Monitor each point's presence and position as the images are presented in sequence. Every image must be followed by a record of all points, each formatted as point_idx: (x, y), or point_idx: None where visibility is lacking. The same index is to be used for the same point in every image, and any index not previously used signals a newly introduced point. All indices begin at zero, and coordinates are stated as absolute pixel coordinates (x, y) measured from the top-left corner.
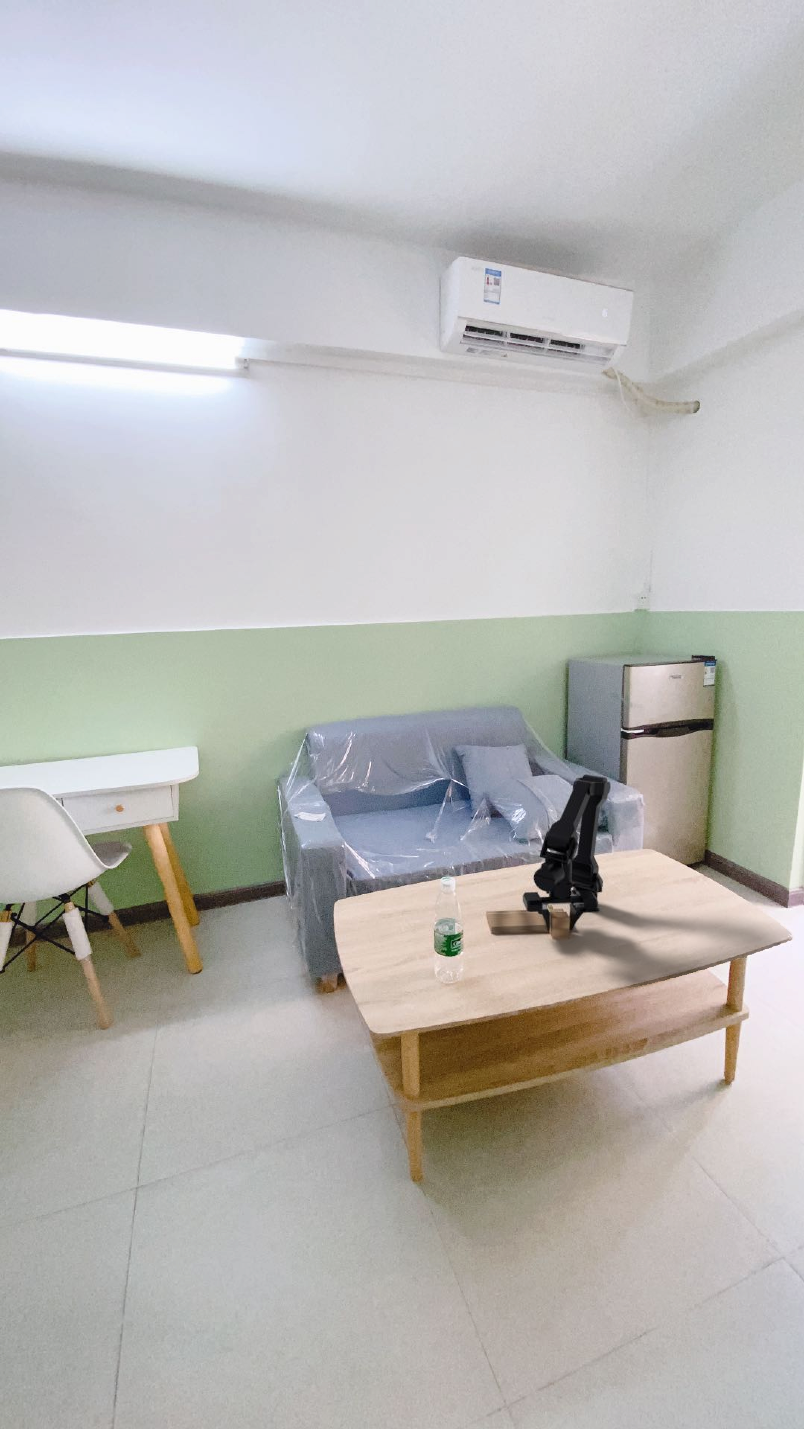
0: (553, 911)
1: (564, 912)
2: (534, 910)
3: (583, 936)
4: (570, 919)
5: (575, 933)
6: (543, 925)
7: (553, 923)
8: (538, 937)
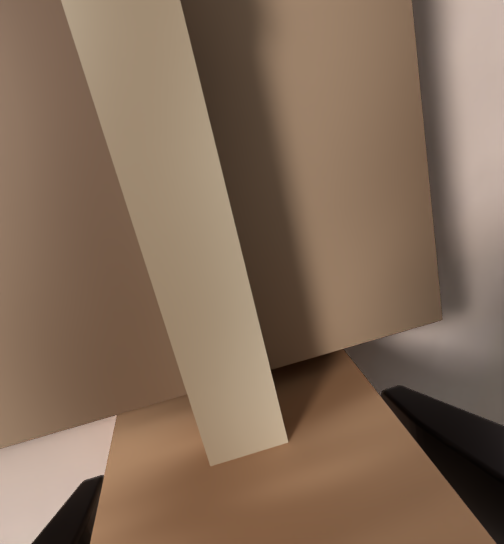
0: (177, 135)
1: None
2: None
3: (489, 349)
4: (486, 529)
5: None
6: (21, 437)
7: None
8: (3, 483)
